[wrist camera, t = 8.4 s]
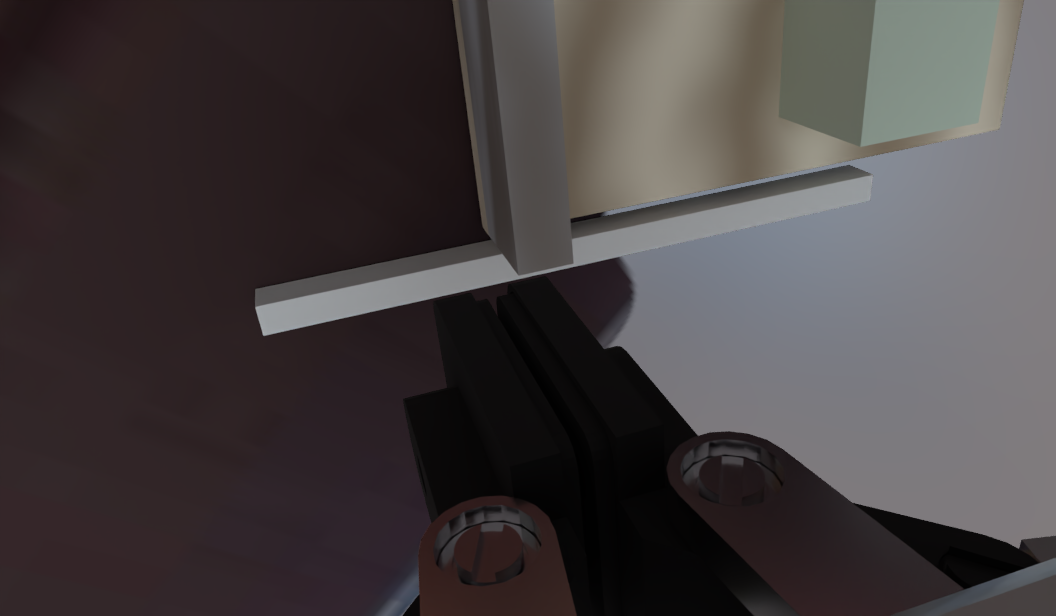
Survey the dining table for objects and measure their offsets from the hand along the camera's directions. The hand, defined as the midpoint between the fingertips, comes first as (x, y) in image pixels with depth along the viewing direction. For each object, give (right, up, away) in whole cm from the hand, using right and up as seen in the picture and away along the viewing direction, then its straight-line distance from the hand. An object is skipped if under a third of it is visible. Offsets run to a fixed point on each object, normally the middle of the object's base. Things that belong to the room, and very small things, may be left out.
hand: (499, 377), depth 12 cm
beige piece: (+9, +11, +20) cm, 25 cm away
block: (+13, +11, +19) cm, 26 cm away
